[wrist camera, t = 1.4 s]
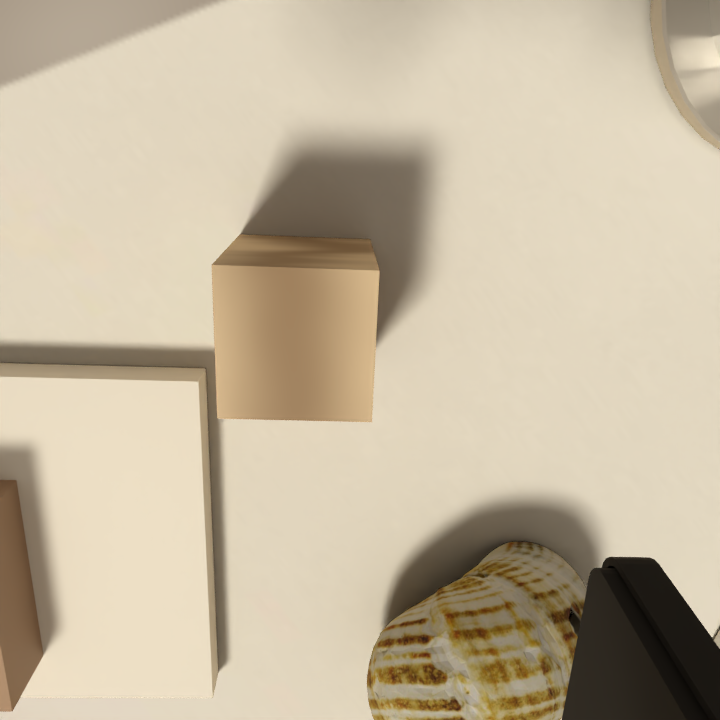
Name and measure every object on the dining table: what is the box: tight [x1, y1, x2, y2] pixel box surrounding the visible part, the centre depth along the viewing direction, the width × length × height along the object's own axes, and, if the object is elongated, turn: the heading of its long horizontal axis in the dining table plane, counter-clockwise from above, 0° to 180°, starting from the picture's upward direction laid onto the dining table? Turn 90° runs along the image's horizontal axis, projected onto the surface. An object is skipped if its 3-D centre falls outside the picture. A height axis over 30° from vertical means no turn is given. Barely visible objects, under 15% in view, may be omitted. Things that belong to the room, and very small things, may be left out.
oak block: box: [212, 234, 380, 422], centre depth 23 cm, size 5×5×6 cm
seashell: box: [367, 542, 587, 720], centre depth 28 cm, size 10×10×10 cm
